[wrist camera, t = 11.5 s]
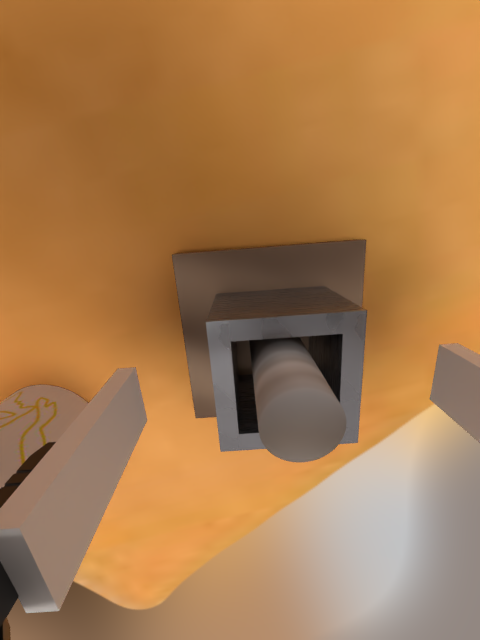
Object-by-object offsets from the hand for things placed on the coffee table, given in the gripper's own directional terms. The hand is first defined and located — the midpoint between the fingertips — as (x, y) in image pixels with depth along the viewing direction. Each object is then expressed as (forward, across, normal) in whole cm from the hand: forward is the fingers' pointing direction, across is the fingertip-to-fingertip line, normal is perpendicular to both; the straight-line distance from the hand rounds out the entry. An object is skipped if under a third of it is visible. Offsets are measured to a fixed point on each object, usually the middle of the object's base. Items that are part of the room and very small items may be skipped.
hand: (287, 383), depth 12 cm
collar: (+7, 0, -1) cm, 7 cm away
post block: (+8, 0, -1) cm, 8 cm away
